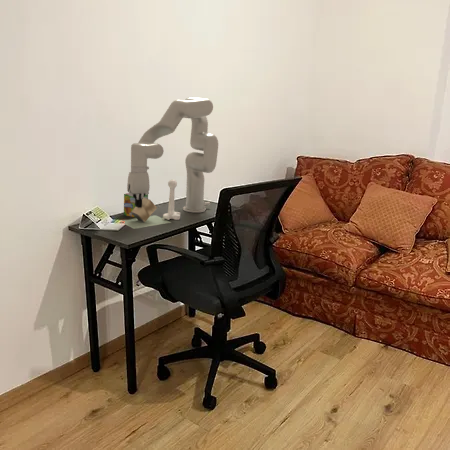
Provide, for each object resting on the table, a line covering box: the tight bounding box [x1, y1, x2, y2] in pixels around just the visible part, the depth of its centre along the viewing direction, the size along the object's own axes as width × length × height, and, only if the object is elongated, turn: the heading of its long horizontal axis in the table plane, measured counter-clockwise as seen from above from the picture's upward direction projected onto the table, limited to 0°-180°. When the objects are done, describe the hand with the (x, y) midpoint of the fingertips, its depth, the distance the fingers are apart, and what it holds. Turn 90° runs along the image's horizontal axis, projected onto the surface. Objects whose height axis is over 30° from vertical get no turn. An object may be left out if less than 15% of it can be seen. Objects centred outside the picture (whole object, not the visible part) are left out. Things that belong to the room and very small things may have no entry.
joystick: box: [162, 179, 181, 221], centre depth 240 cm, size 11×8×20 cm
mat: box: [122, 214, 172, 230], centre depth 234 cm, size 21×15×1 cm
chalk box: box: [123, 192, 149, 218], centre depth 243 cm, size 9×9×15 cm
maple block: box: [131, 198, 158, 223], centre depth 234 cm, size 6×6×10 cm
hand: (138, 206), depth 231 cm, fingers closed
